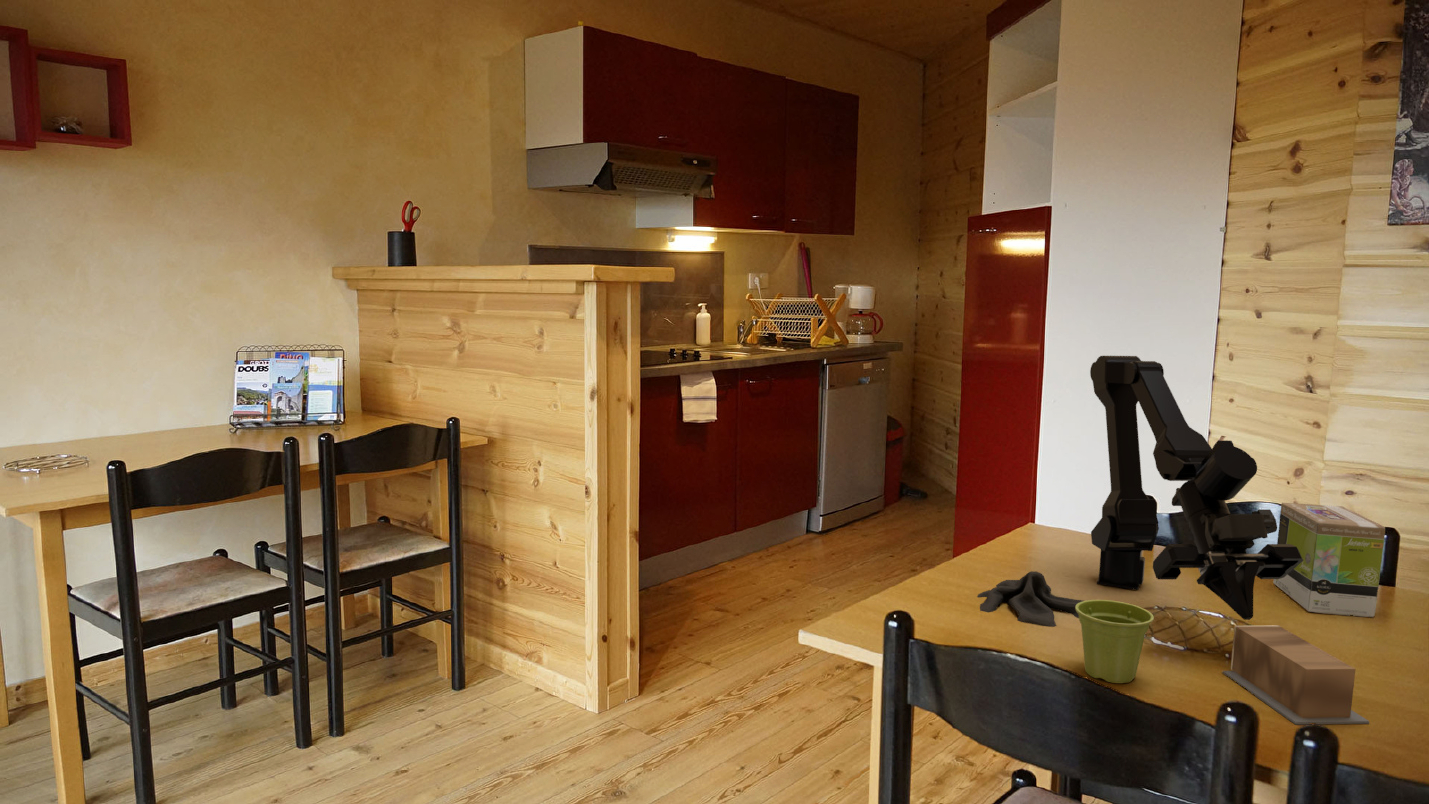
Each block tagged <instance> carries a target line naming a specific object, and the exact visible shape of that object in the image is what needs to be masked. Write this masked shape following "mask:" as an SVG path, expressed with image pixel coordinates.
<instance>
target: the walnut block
mask: <svg viewBox="0 0 1429 804" xmlns="http://www.w3.org/2000/svg"><path fill="white" fill-rule="evenodd" d="M1230 670H1231V671H1235V672H1236V673H1237V674H1239V675H1240V676H1242V677H1243V678H1245V679H1246V680H1248V681H1249V682H1251V683H1252V684H1253V685H1255V686H1256V687H1258V688H1259V689H1261V690H1262V691H1264V692H1265V693H1267V694H1268V695H1269V696H1271V697H1272V698H1274V699H1275V700H1277V701H1278V702H1280V703H1281V704H1283V705H1284V706H1285V707H1287V708H1288V709H1290V710H1291V711H1293V712H1294V713H1296V714H1297V715H1299V716H1300V717H1301V718H1315V717H1350V715H1351V710H1352V705H1353V703H1352V702H1353V696H1354V695H1353V694H1354V687H1355V680H1356V679H1355V677H1356V668H1355V667H1353V666H1351V665H1350V664H1347V663H1346V662H1344V661H1343V660H1341V659H1339V658H1337V657H1335V656H1334V655H1331V654H1329V653H1328V652H1326V651H1325V650H1323V649H1321V648H1319V647H1318V646H1316V645H1314V644H1312V643H1311V642H1308V641H1307V640H1305V639H1303V638H1302V637H1300V636H1298V635H1296V634H1294V633H1293V632H1291V631H1289V630H1287V629H1285V628H1284V627H1282V626H1280V625H1272V624H1271V625H1270V624H1269V625H1268V624H1267V625H1234V630H1233V641H1232V651H1231V664H1230Z"/></svg>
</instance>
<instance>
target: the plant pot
mask: <svg viewBox="0 0 1429 804" xmlns="http://www.w3.org/2000/svg"><path fill="white" fill-rule="evenodd" d="M1075 609H1076V612H1077V613H1078V614H1079V618H1078V619H1079V620H1078V621H1079V622H1080V624H1081V635H1082V646H1083V661H1084V663H1083V664H1084V670H1085V673H1086V674H1088V675H1089V676H1090V677H1091V678H1094V679H1102V680H1104V681H1106V682H1108V683H1113V684H1114V683H1115V684H1127V683H1131V682H1132V681H1133V679H1135V678H1136V676H1137V672H1138V666H1139V663H1140V658H1141V653H1142V649H1143V644H1144V639H1145V636H1146V633H1147V632H1148V631H1149V628H1150V624H1152V623H1153V622H1154V618H1155V617H1154V615H1153V613H1152V612H1150V611H1149V610H1147V609H1145V608H1143V607H1141V606H1138V605H1135V604H1132V603H1128V602H1122V601H1119V600H1117V601H1116V600H1110V599H1109V600H1108V599H1090V600H1089V599H1087V600H1084V601H1082V602H1080V603H1078V604H1077V605H1076V606H1075Z"/></svg>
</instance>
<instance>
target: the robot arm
mask: <svg viewBox="0 0 1429 804" xmlns="http://www.w3.org/2000/svg"><path fill="white" fill-rule="evenodd" d="M1089 372H1090V373H1089V375H1090V379H1091V381H1092V386H1093V392H1094V395H1095V396H1096V397H1097V399H1098V400H1099V401H1100V403H1102V405H1103V407H1104V409H1105V419H1106V433H1107V435H1106V436H1107V449H1108V450H1107V451H1108V463H1109V464H1108V465H1109V477H1110V478H1109V479H1110V493H1109V494H1108V496H1107V497H1106V500H1105V502H1104V503H1103V504H1102V507H1101V508H1102V509H1101V519H1099V521H1098V522H1097V523H1096V524H1095V526H1094V528H1093V529H1092V530H1091V531H1090V537H1091V544H1092V545H1093V546H1095V547H1097V548H1098V549H1100V555H1099V556H1100V557H1099V571H1098V578H1097V580H1096V584H1098V585H1101V586H1102V585H1104V586H1109V587H1115V588H1116V587H1117V588H1121V589H1122V588H1123V589H1128V590H1134V591H1135V590H1136V591H1137V590H1138V591H1139V588H1140V585H1142V584H1143V583H1144V577H1145V568H1146V567H1145V565H1146V558H1145V556H1142V555H1143V554H1142V553H1143V551H1144V552H1145V551H1147V552H1152V551H1153V548H1154V546H1155V543H1156V539H1157V536H1158V533H1159V528H1160V527H1159V520H1158V514H1157V503H1156V501H1155V499H1154V498H1152V499H1151V498H1149V496H1148V495H1147V494H1146V492H1145V491H1144V490H1143V481H1142V480H1143V479H1142V467H1141V452H1140V439H1139V429H1138V428H1139V425H1138V413H1137V404H1138V403H1139V406H1140V407H1141V409H1142V412H1143V414H1144V416H1145V418H1146V421H1147V423H1148V425H1149V427H1150V429H1151V431H1152V433H1153V437H1154V439H1155V442H1156V443H1155V444H1154V445H1155V446H1154V449H1153V451H1152V455H1153V458H1154V461H1155V462H1154V463H1155V468H1156V470H1157V471H1158V473H1159V475H1160V477H1161V478H1162V479H1163V480H1164V481H1165V480H1166V481H1168V482H1169V481H1170V482H1184V483H1183V484H1182V485H1181V486H1180V487H1176V489H1175V493H1174V496H1173V497H1172V498H1171V505H1172V506H1173V507H1181V510H1182V513H1183V515H1184V518H1185V519H1186V523H1187V525H1188V527H1189V529H1188V530H1187V532H1186V533H1185V536H1186V537H1187V540H1189V541H1191V540H1193V541H1194V544H1195V545H1194V544H1192V543H1191V544H1190V543H1181V544H1180V543H1179V544H1178V543H1175V544H1174V543H1171V544H1170V543H1168V544H1167V545H1165V547H1164V548H1163V549H1162V551H1161V552H1160V553H1159V554H1158V555H1157V556H1156V558H1154V560H1153V562H1152V569H1153V572H1154V575H1155V578H1156V579H1157V580H1177V579H1178V578H1179V576H1180V575H1181V574H1182V571H1181V569H1196V568H1197V569H1198V572H1199V574H1200V576H1199V577H1198V578H1197V579H1196V583H1197V584H1198V585H1203V586H1205V587H1206V588H1207V589H1208V590H1209V591H1211V592H1212V593H1213V594H1215V595H1216V596H1217V597H1218V598H1220V599H1221V600H1222V601H1223V602H1224V603H1225V604H1226V605H1227V606H1229V607H1230V608H1231V609H1232V610H1233V612H1235V613H1236V614H1237V615H1238V616H1239V617H1240V618H1241V619H1243V620H1245V621H1246V620H1247V621H1248V620H1251V619H1253V618H1254V586H1255V581H1256V580H1255V578H1256V577H1257V578H1259V579H1260V580H1274V579H1280V578H1283V577H1285V576H1286V575H1287V574H1288V573H1290V572H1291V571H1292V570H1293V569H1294V568H1295V567H1297V566H1298V565H1299V564H1300V563H1301V562H1302V561H1303V558H1302V556H1301V554H1300V552H1299V550H1298V548H1297V547H1296V546H1294V545H1291V544H1277V543H1268V544H1265V546H1264V547H1263V548H1261V550H1259V552H1256V553H1247V551H1246V550H1247V549H1251V548H1253V547H1254V546H1255V540H1258V539H1268V538H1269V537H1268V534H1271V533H1275V532H1277V530H1278V524H1277V519H1276V517H1275V515H1274V514H1273V512H1272V510H1271V509H1264V508H1263V509H1262V508H1261V509H1257V510H1254V511H1251V513H1231V512H1230V510H1229V507H1228V505H1227V503H1226V501H1230V500H1232V499H1233V498H1235V497H1236V496H1237V495H1238V493H1239V492H1241V490H1242V489H1243V488H1244V487H1245V486H1246V485H1247V484H1248V483H1249V482H1250V481H1251V479H1252V478H1253V477H1254V476H1255V475H1256V474H1257V472H1258V464H1257V462H1256V460H1255V458H1254V457H1252V455H1250V454H1249V453H1247V452H1246V451H1245V450H1243V449H1242V448H1239V447H1236V446H1235V445H1234V443H1233V441H1232V440H1228V439H1227V440H1221V439H1220V440H1217V441H1216V442H1215V443H1214V445H1213V446H1211V445H1210V444H1209V442H1208V441H1207V440H1206V438H1205V437H1204V436H1203V434H1201V433H1199V432H1198V431H1197V430H1195V429H1193V428H1192V427H1191V426H1189V424H1188V423H1187V421H1186V418H1185V417H1184V415H1183V413H1182V411H1181V409H1180V407H1179V405H1178V403H1177V400H1176V398H1175V397H1174V395H1173V392H1172V390H1171V389H1170V387H1169V384H1168V382H1167V380H1166V379H1165V377H1164V374H1165V370H1164V368H1163V365H1162V363H1160V362H1157V361H1156V360H1147V361H1146V360H1141V358H1140V357H1138V356H1137V355H1100V356H1098V358H1097V359H1096V360H1095V361H1094V362H1092V364H1091V367H1090V370H1089Z"/></svg>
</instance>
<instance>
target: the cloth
mask: <svg viewBox="0 0 1429 804" xmlns="http://www.w3.org/2000/svg"><path fill="white" fill-rule="evenodd" d="M1046 581H1047V580H1046V579H1045V576H1044V574H1043V573H1041V572H1038V571H1034V570H1033V571H1028V572H1027V573H1026V574H1025V575H1024V576H1022V577H1021V578H1020V579H1005V580H1002V581H1000V582H999V583H997V584H995V586H994V587H993V588H991V589H988V590H985V591H983V592H980V593H978V594H977V596H976V597H977V598H986V599H985V600H984V601H983V602H982V603H980V604H979V610H980V612H984V613H993V612H994V611H997V608H998V606H999V605H1000V604H1001V603H1002V604H1003V603H1006V604H1007V605H1008V606H1011V608H1012V609H1013V610H1014V611H1016V613H1017V615H1018V617H1017V621H1018V622H1020V623H1026V624H1031V625H1037V626H1042V627H1051V628H1052V627H1053V628H1054V627H1057V624H1056V622H1055V613H1054V611H1053V610H1055V611H1060V612H1063V613H1067V614H1069V615H1070V614H1071V615H1072V616H1074V617H1075V618H1077V619H1079V614H1078V613H1077V612H1076V609H1075V606H1076V605H1077V604H1078V603H1080V602H1082V601H1085V600H1081V599H1074V598H1069V597H1062V596H1057V595H1053V594H1052V593H1051V592H1052V588H1051V586H1050V585H1048V584H1047V582H1046Z"/></svg>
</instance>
